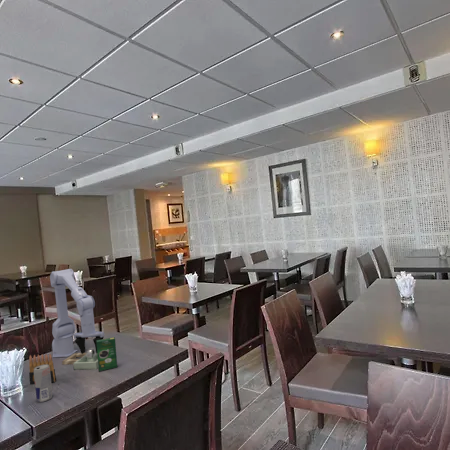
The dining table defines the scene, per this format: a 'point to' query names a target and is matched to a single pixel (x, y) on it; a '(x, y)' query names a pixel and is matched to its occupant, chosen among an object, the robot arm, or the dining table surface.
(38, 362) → the ammunition clip
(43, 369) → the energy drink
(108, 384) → the dining table surface
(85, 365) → the tray
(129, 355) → the dining table surface
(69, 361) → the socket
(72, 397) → the dining table surface
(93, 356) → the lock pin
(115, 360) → the coffee box
